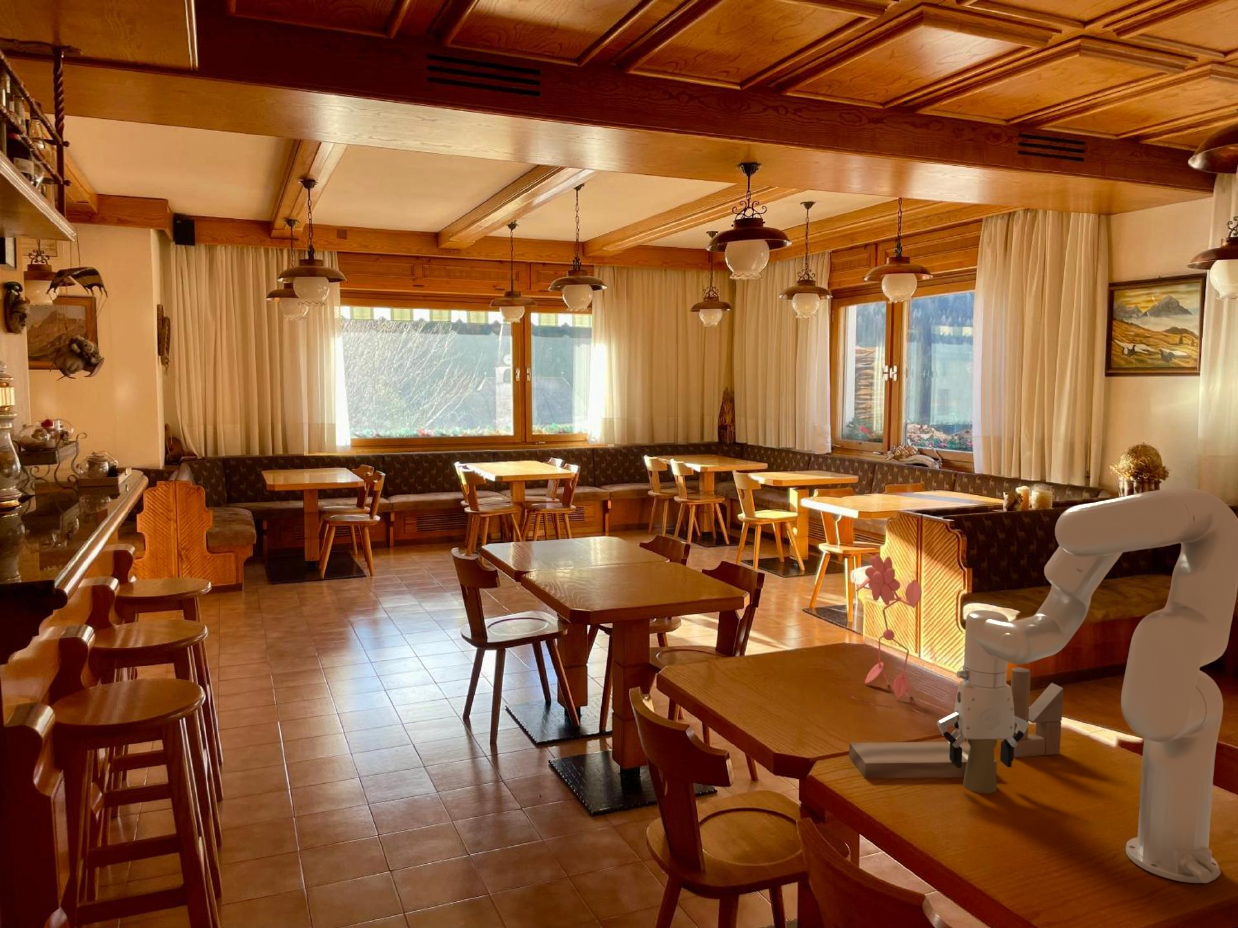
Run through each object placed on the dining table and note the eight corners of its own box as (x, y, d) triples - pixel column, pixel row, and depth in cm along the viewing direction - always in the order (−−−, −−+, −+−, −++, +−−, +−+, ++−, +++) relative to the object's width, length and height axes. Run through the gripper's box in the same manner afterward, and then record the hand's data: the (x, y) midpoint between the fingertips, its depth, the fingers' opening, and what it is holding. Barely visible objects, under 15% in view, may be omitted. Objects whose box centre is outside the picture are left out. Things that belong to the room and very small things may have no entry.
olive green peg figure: (961, 788, 166) (963, 732, 165) (964, 776, 172) (966, 721, 171) (996, 795, 164) (998, 738, 163) (998, 783, 169) (1000, 727, 168)
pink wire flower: (872, 674, 234) (874, 544, 231) (936, 707, 210) (939, 562, 206) (821, 680, 229) (823, 548, 226) (881, 715, 205) (883, 567, 202)
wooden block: (1060, 754, 183) (1064, 669, 181) (1014, 758, 181) (1018, 672, 179) (1048, 747, 186) (1052, 664, 185) (1003, 751, 184) (1007, 667, 183)
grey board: (996, 776, 172) (996, 761, 172) (865, 778, 170) (865, 762, 170) (973, 755, 182) (973, 740, 182) (849, 756, 180) (849, 742, 180)
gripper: (948, 683, 162) (944, 773, 163) (1039, 683, 163) (1035, 772, 164) (931, 670, 169) (928, 757, 171) (1019, 670, 170) (1015, 756, 172)
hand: (980, 764), depth 167 cm, fingers open, 9 cm apart
